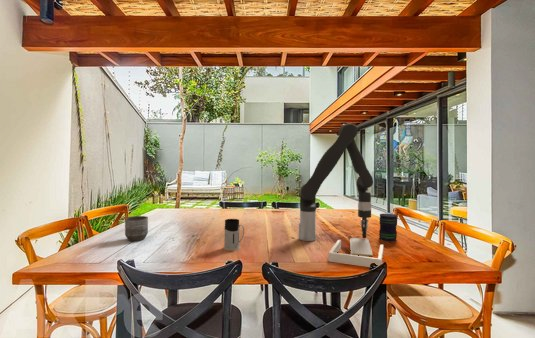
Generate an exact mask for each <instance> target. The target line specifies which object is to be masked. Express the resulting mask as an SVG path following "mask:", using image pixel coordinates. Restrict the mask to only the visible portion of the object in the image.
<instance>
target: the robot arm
mask: <svg viewBox="0 0 535 338" xmlns="http://www.w3.org/2000/svg"><path fill="white" fill-rule="evenodd" d="M338 129H339V130H338V137H337V138H336V140H335V142H334V143H333V144H332V145H331V146H330V147H329V148H327V150H326V151H325V152H324V153H323V155H322V156H321V158H320V160H318V163H317V164H316V166H315V168H314V171H313V173H312V175H311V177H310V178H308V180H307V182H306V183H305V184H302V186H301V187H300V190H299V193H300V194H299V223H298V240H300V241H304V242H314V241H316V223H317V222H316V217H317V215H316V214H317V213H316V211H317V206H316V205H317V204H316V201H317V200H316V196H317V194H318V192H319V189H320V188H321V186H322V184H323V183H324V181H326V179H327V178H328V176H329V175H330V174H331V172H332V171H333V170H334V168H335V167H336V165H337V164H338V162H339V161H340V160H341V158H342V156H343V154H344V152H345V151H347V153H348V155H349V159H350V161H351V164H352V167H353V171H354V172H355V173H356V174H357V175H358V177H357V179H356V188H357V193H358V202H357V217H359V218H361V220H360V227H361V232H362V233H361V234H362V237H361V238H362V239H367V232H368V225H369V224H368V223H369V220H368V219H369V218H372V194H371V192H370V191H369V188H371V187H372V186H373V185H374V179H373V176H372V174H371V173H370V171H369V170H368V168H367V165H366V161H365V159H364V157H363V154H362V153H361V151H360V149H359V147H358V146H357V143H356V139H355V138H356V136H357V135H358V132H359V131H358V127H357V125H355V124H354V123H345V124H342V125H341V126H340V127H339V128H338ZM364 237H365V238H364Z"/></svg>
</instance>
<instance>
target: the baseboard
mask: <svg viewBox="0 0 535 338" xmlns="http://www.w3.org/2000/svg"><path fill="white" fill-rule="evenodd" d="M350 237H351V238H349V246H350V247H349V248H350V249H349V250H351V251H350V255H357V256H358V255H359V256H365V257H369V256H374V255H373V251H372V247H371V245H370V244H371V243H370V240H369V238H365V237H364V238H361V236H360V235H356V237H353V236H351V235H350ZM357 237H358V238H357Z"/></svg>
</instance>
